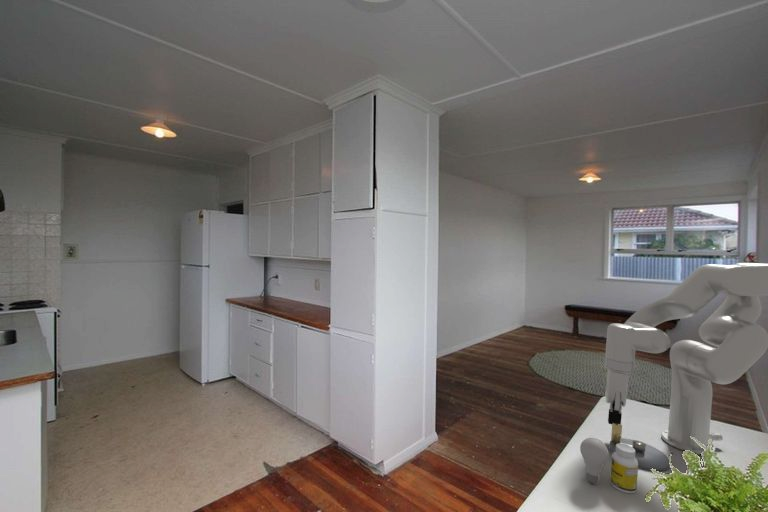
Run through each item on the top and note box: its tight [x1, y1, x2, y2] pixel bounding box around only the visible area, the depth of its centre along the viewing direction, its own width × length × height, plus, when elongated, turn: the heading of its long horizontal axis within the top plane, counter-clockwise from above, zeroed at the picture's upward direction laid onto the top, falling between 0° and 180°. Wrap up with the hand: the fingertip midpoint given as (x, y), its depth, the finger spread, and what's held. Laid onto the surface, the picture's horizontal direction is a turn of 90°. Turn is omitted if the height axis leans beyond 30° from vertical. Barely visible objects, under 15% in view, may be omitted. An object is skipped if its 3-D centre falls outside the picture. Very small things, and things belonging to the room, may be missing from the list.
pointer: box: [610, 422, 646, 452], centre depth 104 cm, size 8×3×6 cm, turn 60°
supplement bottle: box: [609, 443, 639, 494], centre depth 89 cm, size 5×5×10 cm
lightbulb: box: [579, 437, 610, 485], centre depth 89 cm, size 6×6×11 cm
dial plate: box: [608, 437, 670, 472], centre depth 103 cm, size 14×14×2 cm
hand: (614, 423), depth 111 cm, fingers closed
